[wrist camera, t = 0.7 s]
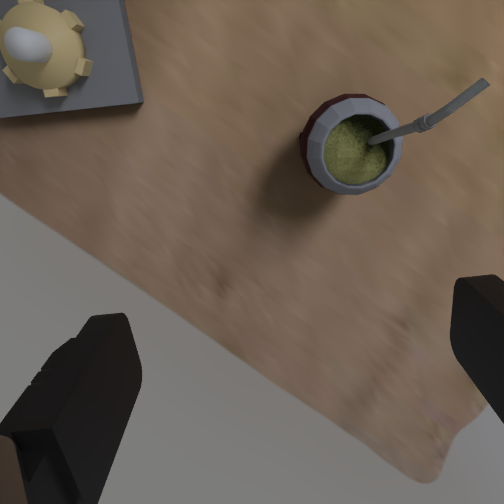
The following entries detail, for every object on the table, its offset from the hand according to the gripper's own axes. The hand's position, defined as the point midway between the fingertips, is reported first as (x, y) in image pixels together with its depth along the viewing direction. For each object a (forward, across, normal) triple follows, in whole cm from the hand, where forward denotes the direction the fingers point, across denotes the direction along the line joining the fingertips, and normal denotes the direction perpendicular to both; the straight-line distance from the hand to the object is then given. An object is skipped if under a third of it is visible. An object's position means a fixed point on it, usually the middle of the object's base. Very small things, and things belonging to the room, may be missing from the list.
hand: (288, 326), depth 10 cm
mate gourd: (+27, -6, -1) cm, 28 cm away
